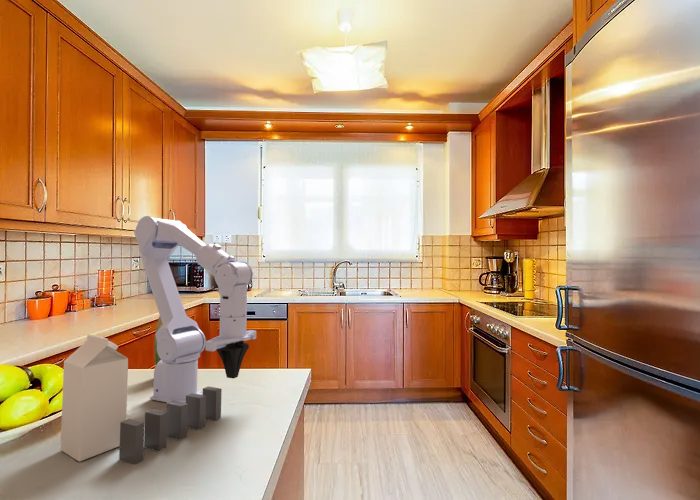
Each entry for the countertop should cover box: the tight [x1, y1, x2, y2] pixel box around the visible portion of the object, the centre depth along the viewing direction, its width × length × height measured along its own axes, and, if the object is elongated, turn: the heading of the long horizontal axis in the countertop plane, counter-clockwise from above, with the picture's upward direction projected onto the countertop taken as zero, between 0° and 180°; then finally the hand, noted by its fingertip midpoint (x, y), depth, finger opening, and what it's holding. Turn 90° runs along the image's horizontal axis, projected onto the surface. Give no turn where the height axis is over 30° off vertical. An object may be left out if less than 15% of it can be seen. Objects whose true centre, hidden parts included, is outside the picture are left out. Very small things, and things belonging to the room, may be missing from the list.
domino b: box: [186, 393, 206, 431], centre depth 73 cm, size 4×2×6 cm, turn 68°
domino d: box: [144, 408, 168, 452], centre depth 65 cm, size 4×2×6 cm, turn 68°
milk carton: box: [60, 334, 129, 462], centre depth 64 cm, size 7×7×19 cm
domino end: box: [118, 418, 145, 465], centre depth 60 cm, size 4×2×6 cm, turn 67°
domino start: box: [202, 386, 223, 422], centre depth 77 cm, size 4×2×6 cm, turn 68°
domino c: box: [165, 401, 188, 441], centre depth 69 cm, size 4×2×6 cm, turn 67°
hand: (232, 377), depth 83 cm, fingers closed
